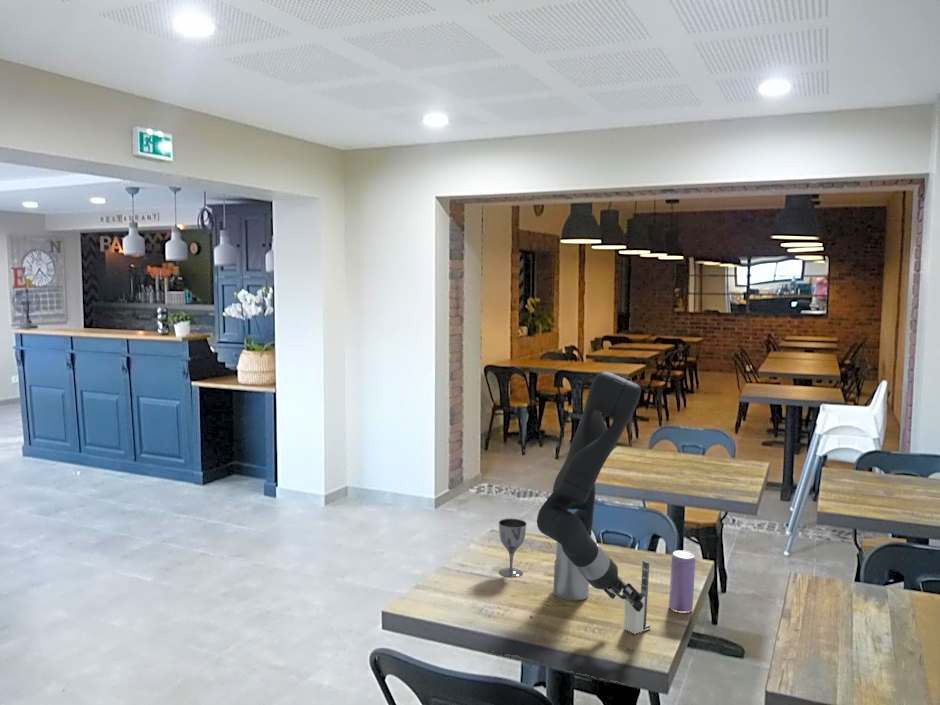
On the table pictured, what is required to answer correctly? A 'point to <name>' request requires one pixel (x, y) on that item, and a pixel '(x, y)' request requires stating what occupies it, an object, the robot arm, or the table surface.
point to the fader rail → (645, 589)
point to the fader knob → (634, 617)
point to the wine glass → (512, 542)
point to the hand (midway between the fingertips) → (627, 601)
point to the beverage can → (682, 581)
